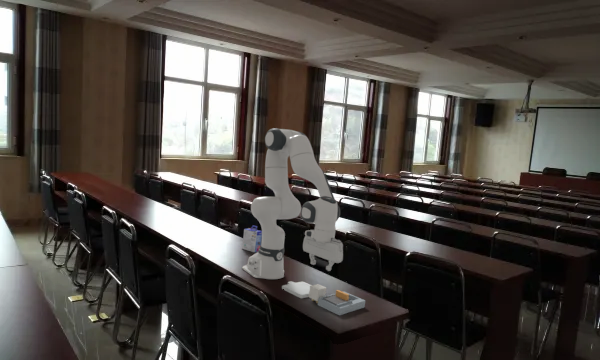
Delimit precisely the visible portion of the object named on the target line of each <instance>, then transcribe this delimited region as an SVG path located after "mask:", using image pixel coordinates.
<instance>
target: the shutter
mask: <svg viewBox="0 0 600 360" xmlns="http://www.w3.org/2000/svg"><path fill="white" fill-rule="evenodd" d="M344 292H345V291H344ZM344 292H343V291H341V290H339V289H336V290H335V294H336V295H334V296H330V297H327V298H324V300H326V301H328V302H330V303H332V304H334V305H337V304H340V303H343V302H347V301H349V300H348V299H349V294H350V293H349V294H347V293H348V292H347V293H344Z"/></svg>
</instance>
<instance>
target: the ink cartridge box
mask: <svg viewBox="0 0 600 360" xmlns="http://www.w3.org/2000/svg"><path fill="white" fill-rule="evenodd" d="M261 243H262V230H258V226H257V225H252V226H251V227H248V228H244V229H243V238H242V245H241V246H242V247H241V249H242V250H245V251H249V252H251V253H257V252H258V250H259V248H257V247H259V246H260V245H261Z"/></svg>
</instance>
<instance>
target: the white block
mask: <svg viewBox="0 0 600 360" xmlns="http://www.w3.org/2000/svg"><path fill="white" fill-rule="evenodd" d="M311 285H312V284H311ZM326 294H327V287H326V286H324V285H321V284H320V283H316V284H313V285H312V286H310V291H309V297H308V298H309V299H311V301H312V302H315V303H316V304H318V298H321V297H325V296H327V295H326Z"/></svg>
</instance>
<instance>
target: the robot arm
mask: <svg viewBox="0 0 600 360" xmlns="http://www.w3.org/2000/svg"><path fill="white" fill-rule="evenodd" d="M264 144H265V147H266V148H267V151H266V155H265V163H264V164H265V165H264V183H265V185H266V186H267V188H269V189H270V190H271V191H273V193H274V196H258V197H256V198H255V197H254V199H253V201H251V204H250V211H251V212H250V213H251V214H252V215H253V217H254V218H255V219H257V222H259V224H260V227H261V231H262V238H261V245H260V246H259V247H257V248H259V250H258V252H254V254H253V255H251V256H249V257H248V259H247V264H245V265H243V266H242V268H241V269H242V270H244V272H246V273H248V274H249V275H250V276H252V277H253V278H256V279H266V280H278V279H282V278H284V277H285V275H284V274H285V270H284V268H285V267H284V264H285V263H284V259H285V258H284V254H285V239H286V237H285V236H286V233H285V231H284V229H283V228H282V227H280V226H279V225H277V220H291V219H295V218H298V217H299V216H301V218H302V220H303V221H304V222H305V223H307V224H314V229H310V230H309V229H308V230H305V232H304V235H305V236H304V238H303V242H302V250H303V252H306V253H308V254H309V255H308V256H309V259H310V264H311V265H313V266H315V265H316V263H317V260H316V258H315V257H318V258H322V259H324V260H327V261H328V265H326V266H325V270H326V271H327V272H331V270H332V267H333V265H334V264H335V263H336V264H339V263H342V262H343V260H344V244H343V242H342V240H340V239H336V238H335V236H336V222H338V220H339V218H340V216H341V208H340V206H339V204H338V201H337V200H336V199H335V197H334V194H333V192H332V189H331V186H330V183H329V181H328V178H327V175H326V173H325V172H324V170H323V169H322V168H321V167H320V166H319V164H318V162H317V161H316V158H315V154H314V150H313V147H312V144H311V141H310V140H309V138H308V136H307V135H306V134H305V133H303V132H301V131H296V130H293V129H289V128H288V129H285V128H277V127H276V128H270V129H269V130H268V131H267V132H266V133H265V136H264ZM288 159H289V160H290V165H291V168H292V171H293V173H294V174H295V175H296V176H298V177H299V178H301V179H304V180H307V181H308V182H311V183H312V184H313V185H314V186H315V188H317V191H318V194H319V198H318V199H315V200H311V201H309V200H308V201H306V202H304V203H303V205H301V202H300V201H299V200H298V198H296V196H294V194H293V192H292V190H291V189H290V186H289V184H290V183H289V176H288V175H289V173H288V171H289V170H288Z"/></svg>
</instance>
